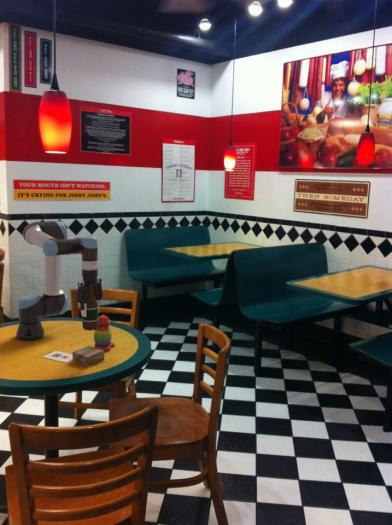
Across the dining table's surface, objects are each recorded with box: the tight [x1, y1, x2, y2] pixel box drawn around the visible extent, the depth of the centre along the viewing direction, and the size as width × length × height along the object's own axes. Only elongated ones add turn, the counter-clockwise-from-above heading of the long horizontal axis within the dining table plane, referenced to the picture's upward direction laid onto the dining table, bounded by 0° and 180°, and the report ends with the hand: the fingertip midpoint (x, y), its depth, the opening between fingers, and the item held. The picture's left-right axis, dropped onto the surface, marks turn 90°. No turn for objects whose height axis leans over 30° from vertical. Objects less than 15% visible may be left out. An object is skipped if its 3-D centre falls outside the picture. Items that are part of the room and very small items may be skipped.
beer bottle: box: [81, 281, 99, 331], centre depth 249 cm, size 8×8×24 cm
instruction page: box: [42, 350, 73, 364], centre depth 258 cm, size 15×10×1 cm, turn 66°
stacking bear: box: [93, 314, 116, 353], centre depth 271 cm, size 11×10×18 cm
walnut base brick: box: [71, 345, 105, 367], centre depth 254 cm, size 11×11×5 cm
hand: (90, 314), depth 250 cm, fingers closed on beer bottle, 8 cm apart
